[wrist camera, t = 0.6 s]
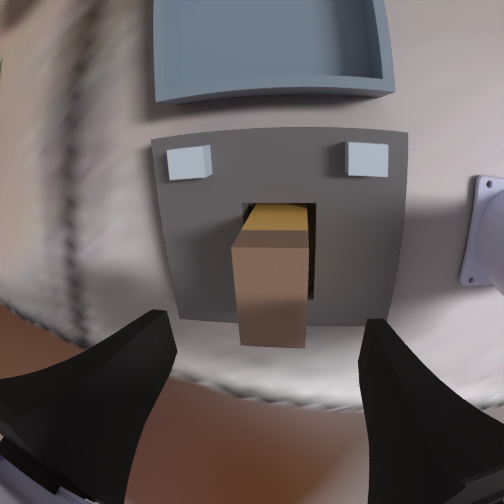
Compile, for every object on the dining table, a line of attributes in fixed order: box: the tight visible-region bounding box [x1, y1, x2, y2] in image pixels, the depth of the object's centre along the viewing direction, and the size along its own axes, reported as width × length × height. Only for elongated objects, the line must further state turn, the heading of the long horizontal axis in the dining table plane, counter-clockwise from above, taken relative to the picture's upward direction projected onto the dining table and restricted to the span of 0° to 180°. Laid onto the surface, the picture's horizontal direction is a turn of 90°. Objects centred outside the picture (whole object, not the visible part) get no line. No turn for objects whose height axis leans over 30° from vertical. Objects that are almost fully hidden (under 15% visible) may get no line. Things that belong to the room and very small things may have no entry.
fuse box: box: [151, 127, 408, 326], centre depth 17 cm, size 14×12×3 cm
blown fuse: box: [231, 203, 309, 348], centre depth 15 cm, size 3×5×7 cm, turn 3°
